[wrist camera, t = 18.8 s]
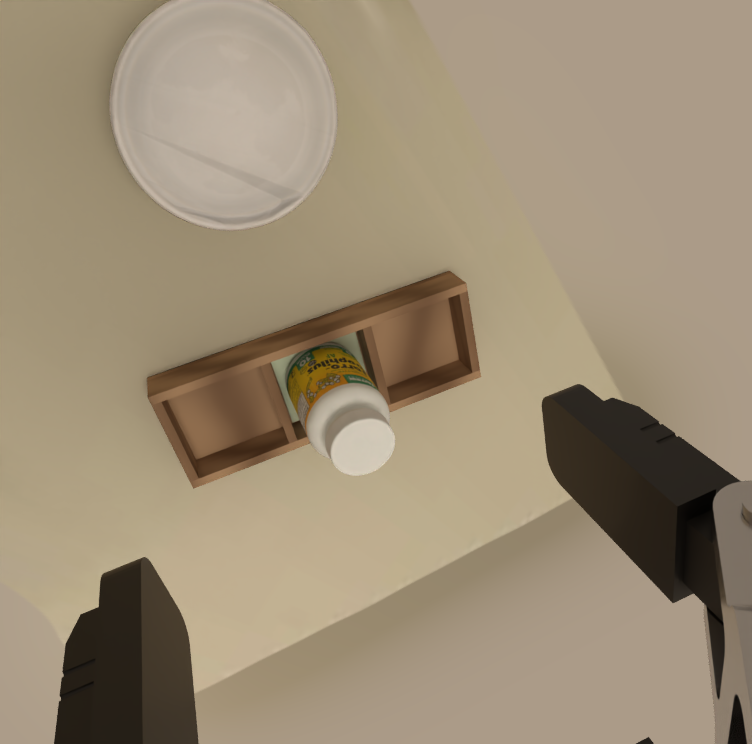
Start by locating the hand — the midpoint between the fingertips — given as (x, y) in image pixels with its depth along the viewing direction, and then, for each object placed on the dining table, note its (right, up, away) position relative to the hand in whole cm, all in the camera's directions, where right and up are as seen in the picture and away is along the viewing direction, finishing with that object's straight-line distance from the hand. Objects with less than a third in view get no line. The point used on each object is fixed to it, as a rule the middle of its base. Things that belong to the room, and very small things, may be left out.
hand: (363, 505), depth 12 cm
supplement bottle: (-4, +2, +33) cm, 33 cm away
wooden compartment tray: (-4, +3, +33) cm, 33 cm away
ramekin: (-9, +17, +24) cm, 31 cm away
